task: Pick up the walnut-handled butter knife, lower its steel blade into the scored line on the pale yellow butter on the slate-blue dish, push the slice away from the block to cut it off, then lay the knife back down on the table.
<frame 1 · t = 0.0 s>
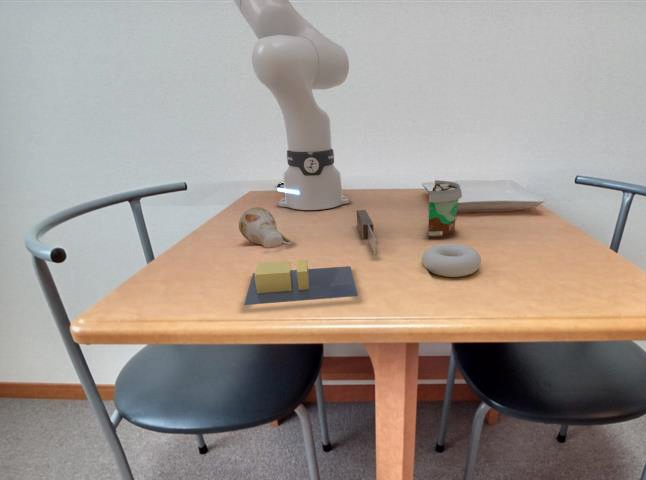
butter dish: (302, 289, 67), on the table
food container: (444, 234, 93), on the table
donut: (450, 269, 74), on the table
butter slice: (303, 283, 67), point 1 cm above the table, touching butter dish
square plate: (476, 203, 117), on the table
mug: (267, 246, 86), on the table
knife: (365, 235, 92), on the table
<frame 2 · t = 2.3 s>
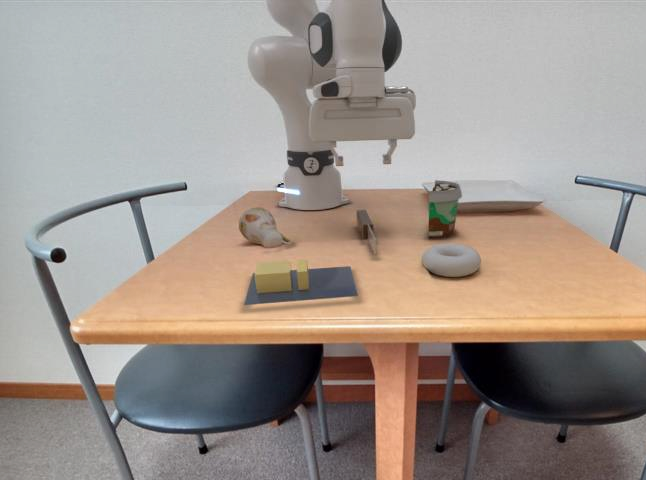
hand: (363, 164, 85), 14 cm above the table, tool pointing down, fingers open, 8 cm apart
nothing on the table moved.
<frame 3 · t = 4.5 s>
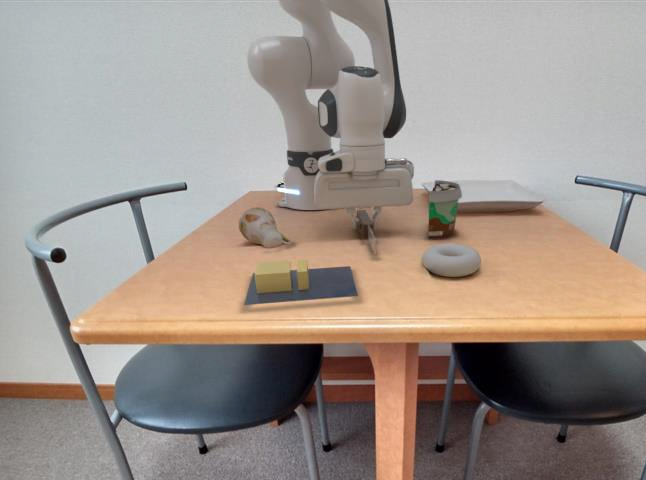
hand: (364, 227, 91), 2 cm above the table, tool pointing down, fingers closed on knife, 2 cm apart
knife: (365, 235, 92), on the table, touching gripper
everything else where it was.
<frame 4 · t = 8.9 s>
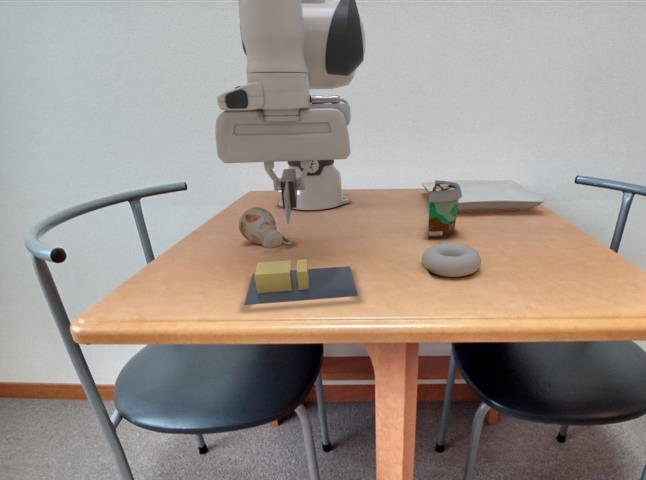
hand: (289, 189, 70), 13 cm above the table, tool pointing down, fingers closed on knife
knife: (290, 199, 71), point 12 cm above the table, touching gripper
everything else where it was.
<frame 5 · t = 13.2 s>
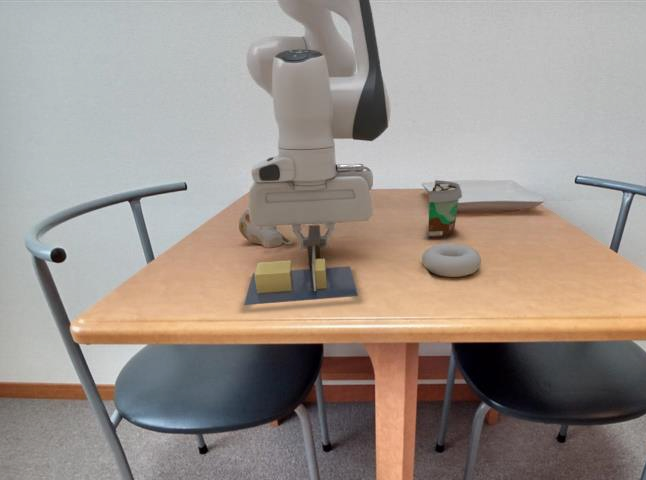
hand: (315, 247, 75), 3 cm above the table, tool pointing down, fingers closed on knife, 2 cm apart
butter slice: (321, 282, 67), point 1 cm above the table, touching knife
knife: (315, 256, 76), point 1 cm above the table, touching butter slice, gripper
everything else where it was.
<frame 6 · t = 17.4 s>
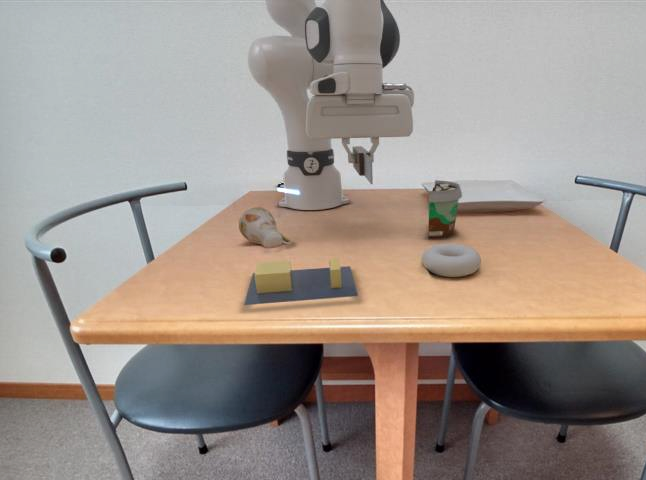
hand: (360, 162, 85), 15 cm above the table, tool pointing down, fingers closed on knife
butter slice: (335, 281, 67), point 1 cm above the table, touching butter dish
knife: (361, 170, 85), point 13 cm above the table, touching gripper
everything else where it was.
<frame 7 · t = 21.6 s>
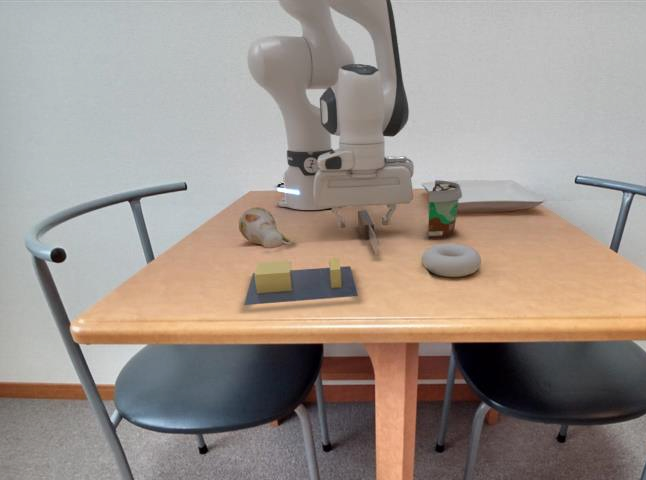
hand: (364, 226, 91), 2 cm above the table, tool pointing down, fingers open, 8 cm apart
knife: (366, 235, 92), on the table
everything else where it was.
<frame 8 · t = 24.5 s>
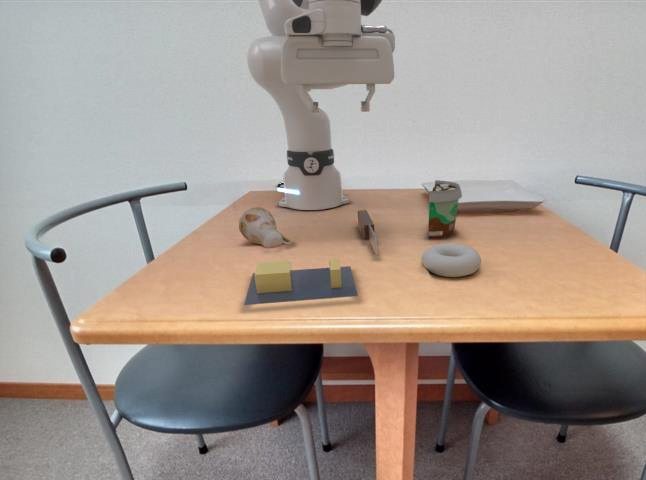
hand: (340, 112, 81), 24 cm above the table, tool pointing down, fingers open, 8 cm apart
nothing on the table moved.
at the end: butter slice 0.2 cm from the target spot on the butter dish, point 1.0 cm above the butter dish's base; butter slice moved 4.9 cm from its start; the gripper is holding nothing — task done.
